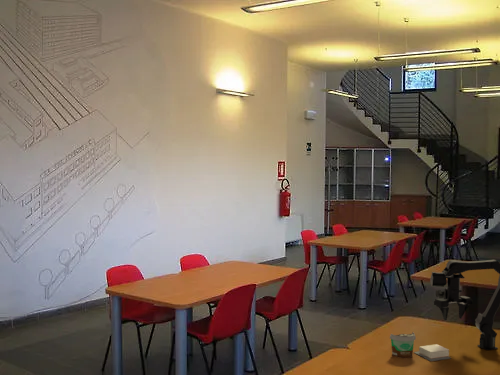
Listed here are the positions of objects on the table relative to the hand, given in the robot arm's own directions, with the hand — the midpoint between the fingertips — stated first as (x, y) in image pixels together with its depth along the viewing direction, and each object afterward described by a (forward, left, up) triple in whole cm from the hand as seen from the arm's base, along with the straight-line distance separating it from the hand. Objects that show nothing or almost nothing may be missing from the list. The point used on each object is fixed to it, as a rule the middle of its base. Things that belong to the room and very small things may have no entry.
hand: (452, 319), depth 261 cm
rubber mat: (+18, +8, -13) cm, 24 cm away
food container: (+31, +5, -13) cm, 34 cm away
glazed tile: (+12, +8, -11) cm, 18 cm away
